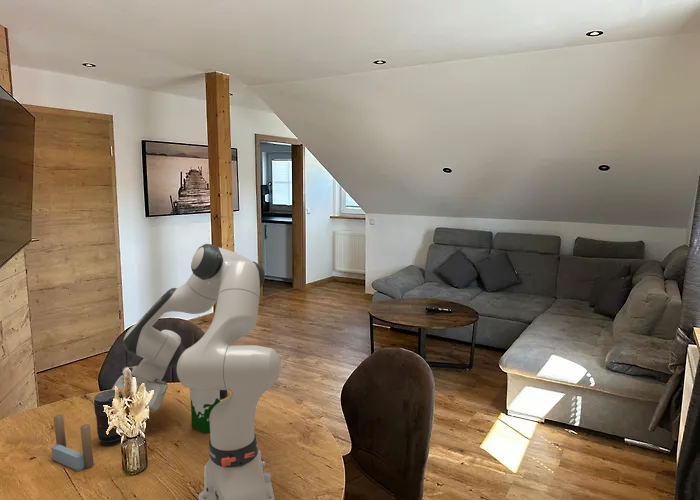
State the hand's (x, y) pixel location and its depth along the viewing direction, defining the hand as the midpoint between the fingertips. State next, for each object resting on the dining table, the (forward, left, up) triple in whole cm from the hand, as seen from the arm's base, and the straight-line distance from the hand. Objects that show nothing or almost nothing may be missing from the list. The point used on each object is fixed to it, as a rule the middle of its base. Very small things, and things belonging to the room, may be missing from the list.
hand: (124, 417), depth 157 cm
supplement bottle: (+13, -32, -6) cm, 35 cm away
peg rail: (-10, +15, -5) cm, 19 cm away
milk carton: (-8, -24, -6) cm, 26 cm away
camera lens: (-3, +4, -6) cm, 8 cm away
